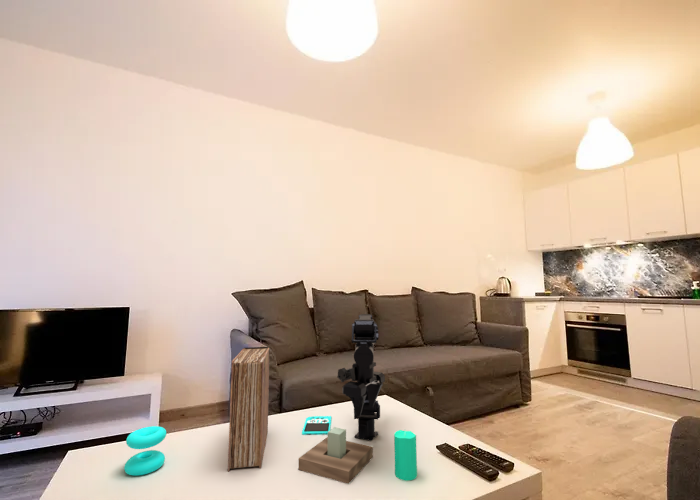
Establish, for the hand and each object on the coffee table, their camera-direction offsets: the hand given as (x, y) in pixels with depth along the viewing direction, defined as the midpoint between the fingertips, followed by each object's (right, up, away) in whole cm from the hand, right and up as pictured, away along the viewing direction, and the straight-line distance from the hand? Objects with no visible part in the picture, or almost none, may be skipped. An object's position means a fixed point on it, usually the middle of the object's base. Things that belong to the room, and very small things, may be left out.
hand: (365, 411), depth 105 cm
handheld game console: (-17, -17, +22) cm, 32 cm away
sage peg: (-9, -12, -6) cm, 16 cm away
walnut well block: (-9, -12, -6) cm, 16 cm away
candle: (+11, -12, -12) cm, 20 cm away
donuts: (-64, -13, -8) cm, 65 cm away
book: (-37, -14, +3) cm, 39 cm away
